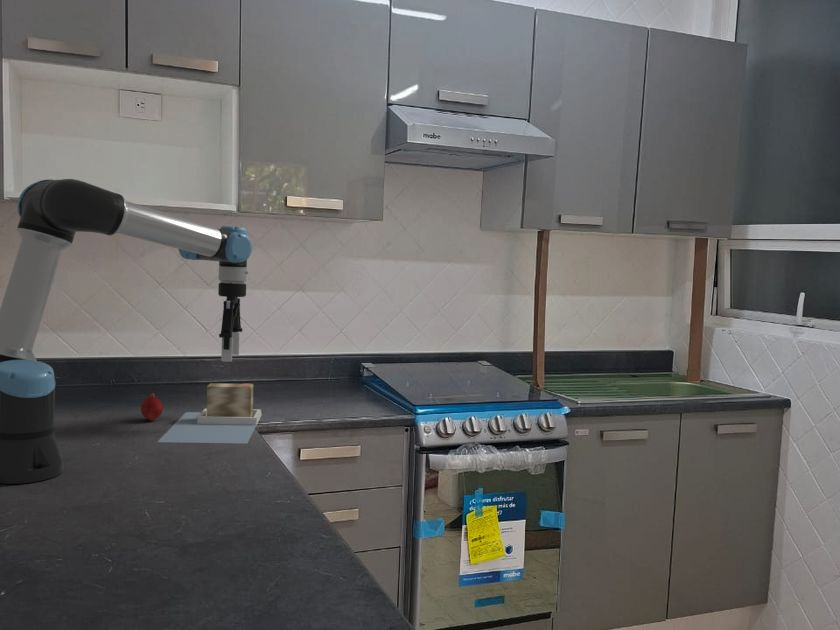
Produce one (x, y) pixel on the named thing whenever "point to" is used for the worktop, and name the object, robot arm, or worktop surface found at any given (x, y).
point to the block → (230, 400)
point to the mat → (206, 432)
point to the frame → (229, 419)
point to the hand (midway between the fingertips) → (230, 358)
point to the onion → (151, 408)
